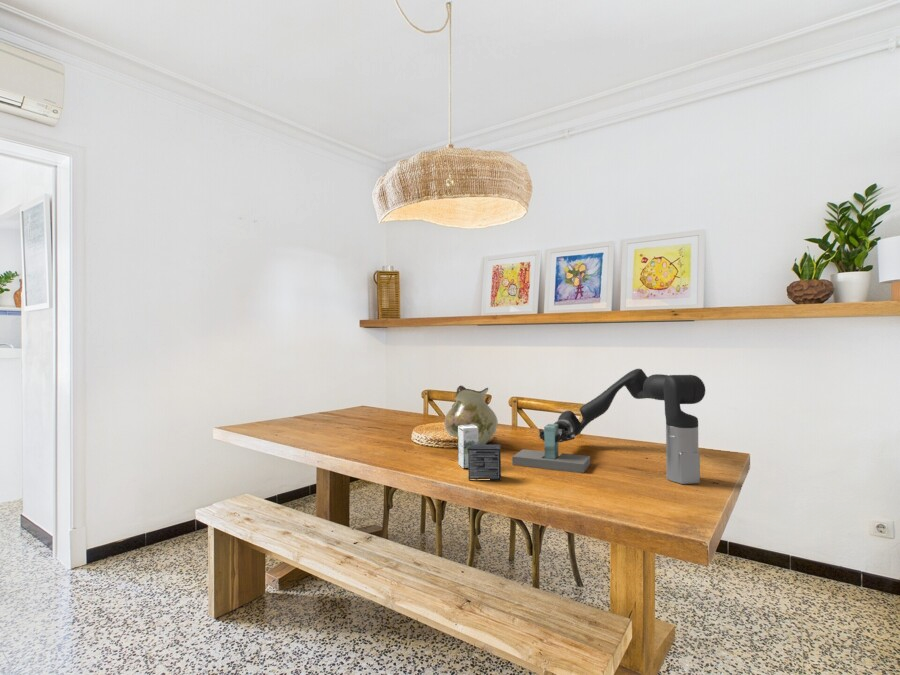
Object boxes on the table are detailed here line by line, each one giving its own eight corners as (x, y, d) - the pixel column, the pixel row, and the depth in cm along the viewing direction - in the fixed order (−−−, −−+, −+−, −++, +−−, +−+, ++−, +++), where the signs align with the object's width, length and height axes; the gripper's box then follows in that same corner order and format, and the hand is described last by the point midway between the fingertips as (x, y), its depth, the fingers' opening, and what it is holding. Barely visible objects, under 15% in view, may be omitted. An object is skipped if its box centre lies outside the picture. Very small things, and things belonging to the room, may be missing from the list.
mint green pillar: (554, 464, 167) (554, 427, 167) (544, 463, 169) (544, 426, 169) (558, 460, 173) (558, 424, 173) (549, 459, 174) (548, 423, 174)
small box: (501, 475, 158) (500, 443, 158) (501, 481, 152) (501, 448, 152) (469, 474, 159) (468, 443, 159) (468, 480, 153) (467, 448, 153)
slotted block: (583, 473, 160) (583, 464, 160) (512, 464, 171) (512, 456, 171) (590, 464, 170) (590, 456, 170) (522, 457, 181) (522, 449, 181)
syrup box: (472, 463, 173) (472, 423, 173) (478, 468, 167) (478, 426, 167) (457, 465, 171) (457, 424, 171) (463, 469, 165) (463, 427, 165)
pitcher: (482, 454, 186) (481, 390, 187) (432, 447, 199) (431, 387, 199) (506, 443, 206) (505, 385, 206) (459, 438, 218) (458, 383, 218)
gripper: (580, 441, 181) (570, 451, 166) (543, 438, 188) (530, 447, 172) (579, 421, 181) (570, 430, 166) (543, 419, 188) (530, 427, 172)
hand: (550, 439), depth 169 cm, fingers closed on mint green pillar, 3 cm apart
